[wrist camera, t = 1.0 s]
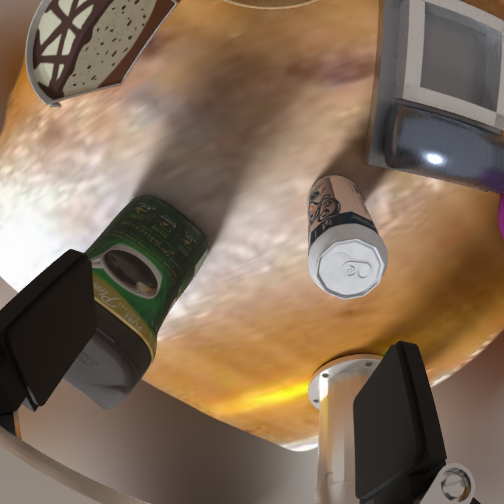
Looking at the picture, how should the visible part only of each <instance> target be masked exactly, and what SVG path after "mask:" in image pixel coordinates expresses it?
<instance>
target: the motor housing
mask: <svg viewBox="0 0 504 504" xmlns="http://www.w3.org/2000/svg"><path fill="white" fill-rule="evenodd" d="M501 130H503V131H504V21H503V20H501V19H499V18H497V17H495V16H493V15H491V14H489V13H487V12H485V11H483V10H481V9H478V8H476V7H474V6H471V5H469V4H467V3H464V2H462V1H459V0H379V21H378V38H377V52H376V64H375V74H374V84H373V94H372V102H371V110H370V118H369V126H368V133H367V140H366V147H365V153H364V161H365V162H366V163H367V165H371V166H377V167H382V168H388V169H393V170H398V171H403V172H408V173H413V174H417V175H422V176H426V177H431V178H435V179H440V180H444V181H448V182H452V183H456V184H460V185H464V186H468V187H472V188H475V189H479V190H483V191H486V192H488V191H490V192H494V193H497V194H501V193H504V136H503V135H500V134H501Z"/></svg>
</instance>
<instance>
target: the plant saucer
mask: <svg viewBox="0 0 504 504" xmlns="http://www.w3.org/2000/svg"><path fill="white" fill-rule="evenodd" d="M223 1H226V2H229V3H232V4H235V5H239V6H242V7H248V8H256V9H287V8H294V7H299V6H304V5H307V4H311V3H313V2H317V1H319V0H223Z"/></svg>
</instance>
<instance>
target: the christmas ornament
mask: <svg viewBox="0 0 504 504" xmlns="http://www.w3.org/2000/svg"><path fill="white" fill-rule="evenodd" d="M498 224H499V229H500V232H501V235H502V237H503V240H504V193H503V194H502V196H501V199H500V202H499V207H498Z"/></svg>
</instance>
